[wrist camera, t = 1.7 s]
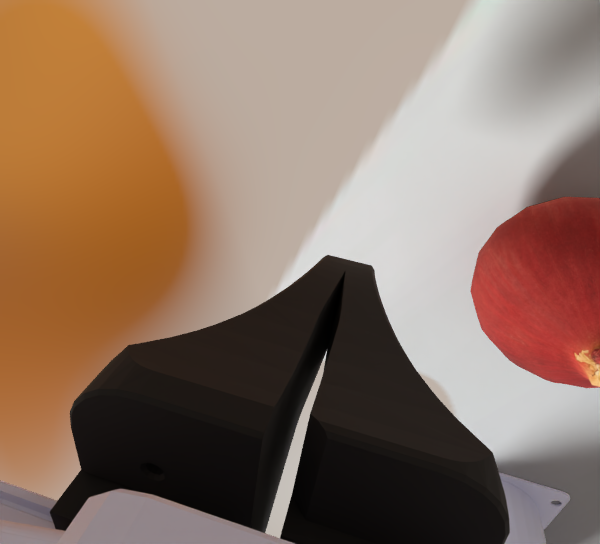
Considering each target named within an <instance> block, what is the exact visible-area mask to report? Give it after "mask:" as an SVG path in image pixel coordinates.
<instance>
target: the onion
mask: <svg viewBox="0 0 600 544" xmlns="http://www.w3.org/2000/svg"><path fill="white" fill-rule="evenodd" d="M471 294H472V298H473V302H474V305H475V309H476V313H477V316H478V319H479V322H480V325H481V328H482V330H483V331H484V333H485V334H486V335H487V336H488V338H489V339H490V340H491V341H492V342H493V343H494V344H495V345H496V346H497V347H498V348H499V350H500V351H501V352H502V353H503V354H504V355H505V356H506V357H507V358H508V359H509V360H510V361H511V362H513V363H514V364H516V365H517V366H519V367H521V368H523V369H525V370H527V371H529V372H531V373H533V374H535V375H537V376H539V377H541V378H543V379H545V380H548V381H551V382H555V383H562V384H569V385H574V386H579V387H584V388H598V387H600V198H585V197H562V198H558V199H555V200H551V201H547V202H544V203H540V204H537V205H533V206H529V207H526V208H525V209H524V210H522V211H521V212H519V213H518V214H516V215H515V216H513V217H512V218H510V219H509V220H507V221H506V222H504V223H502V224H501V225H500V226H499V227H497V229H496V230H495V231H494V233H493V234H492V235H491V237H490V238H489V239H488V241H487V242H486V243H485V245H484V246H483V248H482V249H481V250H480V252H479V254H478V258H477V262H476V267H475V271H474V275H473V280H472V286H471Z"/></svg>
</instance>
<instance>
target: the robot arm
mask: <svg viewBox="0 0 600 544" xmlns="http://www.w3.org/2000/svg"><path fill="white" fill-rule="evenodd" d="M327 348H328V349H327ZM326 351H327V355H326V361H325V367H324V373H323V377H322V380H321V384H320V386H319V389H318V392H317V395H316V399H315V401H314V404H313V407H312V411H311V414H310V418H309V422H308V426H307V431H306V435H305V440H304V444H303V448H302V453H301V457H300V462H299V467H298V471H297V475H296V479H295V484H294V488H293V493H292V497H291V500H290V504H289V508H288V512H287V515H286V519H285V522H284V526H283V529H282V534H281V537H280V538H277V537H274V536H271V535H268V534H266V533H265V531H266V528H267V524H268V521H269V517H270V513H271V510H272V507H273V503H274V500H275V496H276V493H277V490H278V486H279V482H280V480H281V476H282V473H283V469H284V465H285V463H286V459H287V456H288V452H289V449H290V446H291V442H292V439H293V436H294V432H295V429H296V425H297V423H298V420H299V417H300V414H301V412H302V409H303V407H304V404H305V402H306V399H307V397H308V395H309V392H310V390H311V387H312V385H313V382H314V380H315V378H316V375H317V373H318V370H319V368H320V365H321V363H322V361H323V358H324V356H325V353H326ZM70 420H71V429H72V433H73V437H74V441H75V445H76V449H77V453H78V457H79V461H80V466H81V471H80V472H79V473H78V475H77V476H76V478H75V479H74V480H73V481H72V483H71V484H70V485H69V487H68V488H67V489H66V491H65V492H64V493H63V495H62V496H61V497H60V498H59V500H58V501H57V500H54V499H51V498H48V497H45V496H43V495H40V494H37V493H34V492H32V491H29V490H26V489H23V488H21V487H17V486H15V485H12V484H9V483H6V482H4V481H1V480H0V544H547V543H546V539H545V535H544V529H545V528H546V527H547V526H548V525H549V524H550V523H551V521H552V520H553V519H554V518H555V517H556V516H557V515H558V513H559V512H560V511H561V510H562V509H563V508H564V507H565V505H566V504H567V503H568V502H569V501H570V496H569V494H568V493H566V492H563V491H560V490H557V489H553V488H550V487H547V486H543V485H540V484H537V483H534V482H530V481H527V480H524V479H520V478H517V477H514V476H510V475H507V474H504V473H500V472H498V469H497V465H496V462H495V459H494V456H493V453H492V452H491V451H490V450H489V449H488V448H487V447H486V446H485V445H484V444H483V443H482V442H481V441H480V440H479V439H478V438H477V437H476V436H474V435H473V434H472V433H471V432H470V431H469V430H468V429H467V428H466V427H465V426H464V425H463V424H462V423H461V422H460V421H459V420H458V419H457V418H456V417H455V416H454V415H453V414H452V413H451V412H450V411H449V410H448V409H447V408H446V407H445V405H443V403H442V402H441V401H440V400H439V399H438V398H437V396H436V395H435V394H434V393H433V392H432V390H431V389H430V388H429V387H428V385H427V384H426V383H425V381H424V380H423V379H422V378H421V376H420V375H419V373H418V372H417V371H416V369H415V368H414V366H413V365H412V363H411V362H410V360H409V359H408V357H407V355H406V354H405V352H404V350H403V349H402V347H401V345H400V343H399V341H398V339H397V337H396V335H395V333H394V331H393V329H392V327H391V325H390V322H389V320H388V318H387V315H386V313H385V310H384V307H383V304H382V302H381V299H380V295H379V292H378V288H377V284H376V280H375V273H374V269H373V267H372V266H371V265H367V264H362V263H358V262H354V261H350V260H346V259H342V258H338V257H334V256H330V255H327V256H325V257H323V258H322V259H321V260H320V261H319V262H318V263H317V264H316V265H315V266H314V267H313V268H312V269H310V270H309V271H308V272H307V273H306V274H304V275H303V276H302V277H301V278H299V279H298V280H297V281H295V282H294V283H293V284H292V285H290V286H289V287H287V288H286V289H284V290H283V291H281V292H280V293H278V294H277V295H275V296H274V297H272V298H271V299H269V300H267V301H266V302H264V303H262V304H261V305H259V306H257V307H255V308H253V309H251V310H249V311H247V312H245V313H243V314H241V315H238V316H236V317H234V318H231V319H228V320H226V321H223V322H221V323H218V324H216V325H213V326H210V327H207V328H203V329H201V330H197V331H193V332H190V333H187V334H182V335H178V336H174V337H170V338H165V339H160V340H155V341H150V342H145V343H140V344H133V345H128V346H127V347H126V348H125V349H124V350H123V351H122V352H121V353H120V354H118V356H116V357H115V358H114V359H113V360H112V361H111V362H110V363H109V364H108V365H107V366H106V367H105V368H104V369H103V370H102V371H101V372H100V373H99V375H98V376H97V377H96V378H95V379H94V380H93V381H92V382H91V383H90V385H89V386H88V387H87V388H86V389H85V390H84V391H83V392H82V393H81V394H80V395H79V397H78V398H77V399H76V400H75V401H74V403H73V406H72V408H71V411H70ZM552 501H559V502H561V503H560V504H557V505H556V504H552V503H551V502H552Z"/></svg>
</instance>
